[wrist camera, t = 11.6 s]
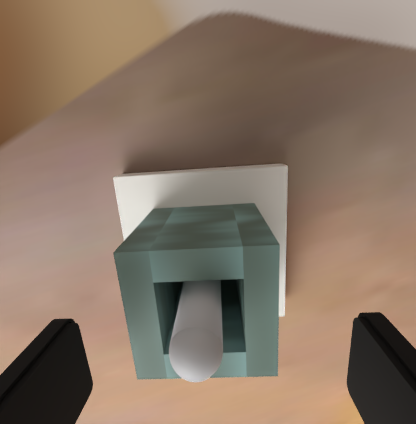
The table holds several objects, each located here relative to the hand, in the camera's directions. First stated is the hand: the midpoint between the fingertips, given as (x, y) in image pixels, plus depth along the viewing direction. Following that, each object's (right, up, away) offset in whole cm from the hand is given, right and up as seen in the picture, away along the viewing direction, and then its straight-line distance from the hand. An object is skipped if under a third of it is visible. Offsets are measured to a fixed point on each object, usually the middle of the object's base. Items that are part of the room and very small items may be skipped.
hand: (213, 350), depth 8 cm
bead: (0, +2, +7) cm, 7 cm away
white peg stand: (0, +3, +8) cm, 9 cm away
